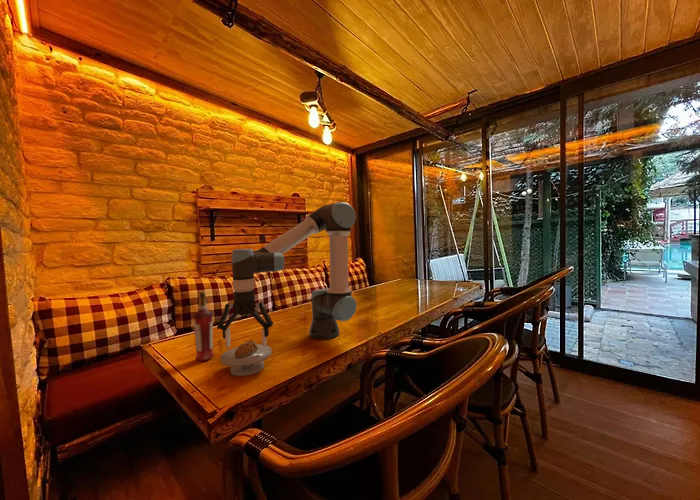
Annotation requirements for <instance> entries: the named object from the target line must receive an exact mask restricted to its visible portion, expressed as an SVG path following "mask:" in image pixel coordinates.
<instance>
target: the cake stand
mask: <svg viewBox="0 0 700 500" xmlns="http://www.w3.org/2000/svg"><path fill="white" fill-rule="evenodd" d="M256 344H257V346H258V350H257V351H256V352H254V353H253V354H251V355H248V356H246V357H235V354H234V353H235V351H236V350H237V348H238V347H239V346H236V347H233V348H231V349H228V350H226V351H225V352H224V353H222V354H221V355H220V362H221V364H223V365H225V366H229V367H230V369H229V370H230V374H231V375H233V376H234V377H246V376H253V375H255V374H257V373H259V372H261V371H262V370H263V369H264V368H265V364H264V363H265V362H264V361H265V360H267V359H268V358H269V357H270V356H271V355H272V348H271V347H270V346H269V345H267V344H266V345H265V347H263V344H261V343H259V344H258V343H256Z"/></svg>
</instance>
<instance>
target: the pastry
mask: <svg viewBox="0 0 700 500" xmlns="http://www.w3.org/2000/svg"><path fill="white" fill-rule="evenodd" d="M257 344H258V343H257V342H256V341H255V340H252V339H250V340H246V341H245V342H243V343H242V344H240V345H239V346H237V347H238V348H237V350H236V351H235V353H234V354H235V357H246V356H248V355H251V354H253V353H254V352H256V351H257V350H258V346H257Z"/></svg>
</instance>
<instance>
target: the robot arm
mask: <svg viewBox="0 0 700 500" xmlns="http://www.w3.org/2000/svg"><path fill="white" fill-rule="evenodd" d="M356 219H357V214H356V211H355V209H354V208H353V207H352V206H351V204H349V203H347V202H343V201H342V202H339V201H338V202H337V201H336V202H334V203H330V204H323V206H320V207H319V208H318V209H316V210H314V211H313V212H312V213H310V214H308V215H306V217H305V218H304V220H303V221H301V222H299V223H298V224H297V225H295V226H294V227H292V228H291V229H289V230H287V231H286V232H284V233H283V234H281V235H279V236H278V237H277V238H275V239H273V240H272V241H270V242H268V243H267V244H265V245H264V246H262V247H261V248H259V249H257V250H256V251H254V250H253V248H237V249H233V250H232V251H231V268H232V269H231V270H232V290H233V294H232V295H233V297H232V298H233V303H231V302H228V303H226V304H225V305H224V311H223V313H222V314H221V315H222V316H221V317H220V319H219V321H218V324H217V326H216V328H217V330H221V331H222V339H224V341H225V349H228V348H230V346H231V329H230V325H231V324H233V322H234V320H235V319H236V318H237V317H238V316H249V315H250V316H251V317H253V319H254V320H256V321H257V323H259V324H260V325H261V327H262V328H261V336H262V337H261V340H262V342H261V343H262V344H261V345H263V347H265V345H266V346H267V338H268V336H269V335H270V333H269V330H270V329H269V328H271V327H273V325H274V322H273V320H272V318H271V317H270V314H269V313H268V310H267V309H266V307H265V303H264V301H260V302H256V294H255V292H256V291H255V290H254V289H255V274H258V273H260V274H261V273H271V272H280V271H282V270H283V269H284V267H285V257H284V254H285V253H287V252H288V251H290V250H291V249H293V248H294V247H295V246H297V245H299V244H301V242H303V241H305V240H306V239H307V238H309V237H310V236H312V235H316V234H319V233H320V232H322V231H325V233H326V234H327V235H328V237H329V239H328V241H329V244H328V245H329V288H322V289H321V288H320V289H314V290H312V292H311V296H310V297H311V298H310V299H311V313H312V314H311V316H312V320H311V324H310V326H309V327H310V328H309V333H308V334H309V337H310V338H311V339H316V340H328V339H329V340H330V339H333V338H336V337H338V336H339V335H340V328H339V325H338V322H337V321H341V322H347V321H349V320H350V319H352V317H353V316H354V315H355V313H356V311H357V301H356V300H355V298H354V297H353V295H352V289H351V288H350V287H349V235H350V233H352V227H353V226H354V224H355V223H356ZM256 307H257V309H259V311H260V314H261V315H262V316H263V317H262V316H261V315H260V314H259V313H258V311H257V310H256ZM232 309H233V310H234V312H233V313H232V315H231V316H230V318H228V316H229V314H230V311H231V310H232ZM227 318H228V320H227ZM226 320H227V322H226ZM225 322H226V323H225Z"/></svg>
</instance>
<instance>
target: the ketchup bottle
mask: <svg viewBox="0 0 700 500" xmlns="http://www.w3.org/2000/svg"><path fill="white" fill-rule="evenodd" d="M197 293H198V294H197V295H198V311H196V312H194V313H193V314H192V320H193V331H194V339H195V350H196V356H195V359H196V360H198V361H199V362H207V361H209V360H211V359H212V358H213V357H214V356H215V353H214V348H213V343H214V341H213V339H214V337H213V336H214V335H213V330H214V329H213V328H214V326H213V325H214V324H213V323H214V319H213V318H214V317H213V316H214V314H213V311H211V310H209V309H207V305H206V304H207V302H206V291H198V292H197Z"/></svg>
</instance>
